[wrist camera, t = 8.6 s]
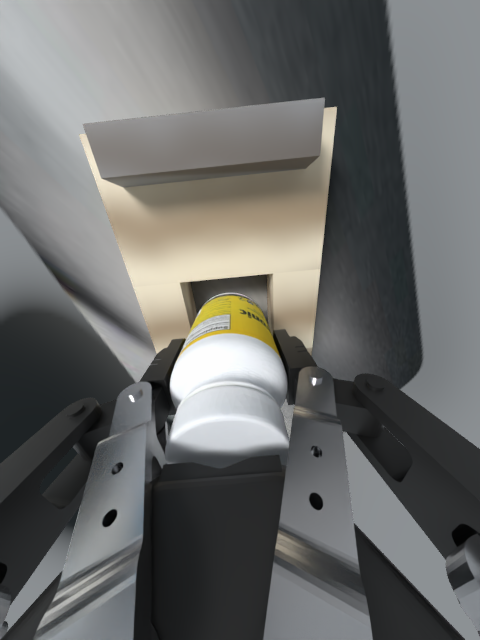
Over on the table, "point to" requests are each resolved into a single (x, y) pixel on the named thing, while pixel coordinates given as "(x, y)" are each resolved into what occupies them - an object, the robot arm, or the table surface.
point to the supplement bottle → (228, 388)
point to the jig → (218, 206)
